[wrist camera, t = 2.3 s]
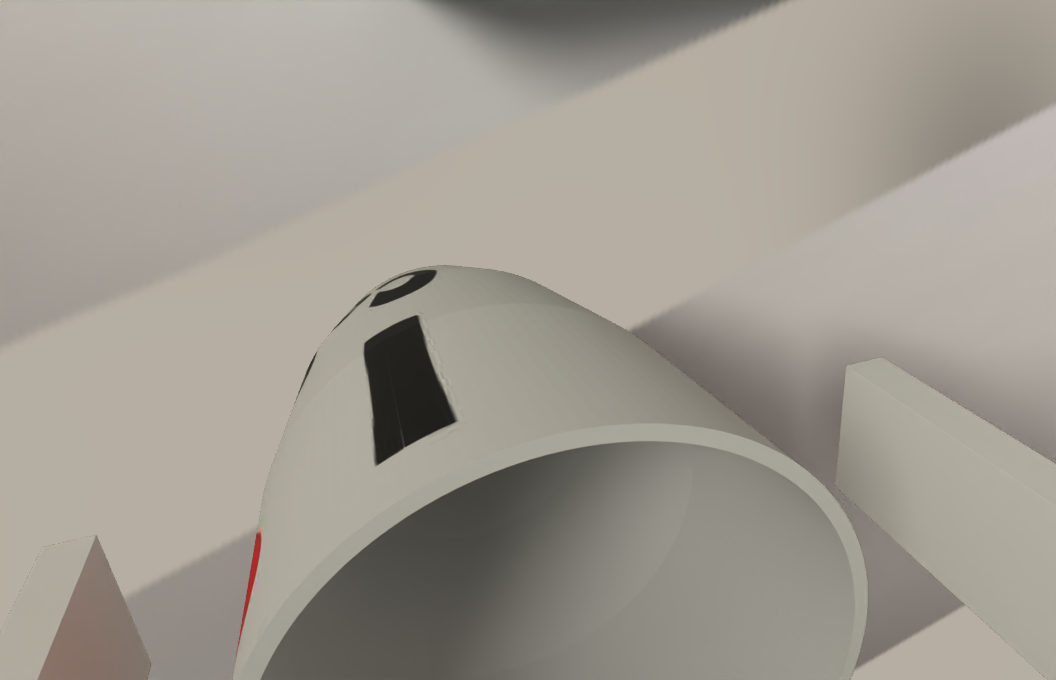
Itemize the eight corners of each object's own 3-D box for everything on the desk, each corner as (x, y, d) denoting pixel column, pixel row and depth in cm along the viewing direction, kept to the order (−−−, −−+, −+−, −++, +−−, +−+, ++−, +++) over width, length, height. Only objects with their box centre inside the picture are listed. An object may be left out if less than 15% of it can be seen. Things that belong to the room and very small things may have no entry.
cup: (369, 126, 15) (467, 294, 7) (661, 297, 19) (980, 555, 10) (197, 444, 17) (93, 913, 8) (494, 546, 21) (642, 953, 12)
